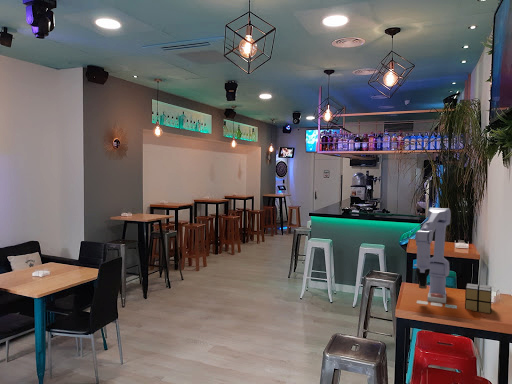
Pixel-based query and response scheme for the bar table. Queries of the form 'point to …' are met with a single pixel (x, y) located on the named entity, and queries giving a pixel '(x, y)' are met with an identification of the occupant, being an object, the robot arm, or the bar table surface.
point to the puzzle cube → (478, 298)
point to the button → (437, 295)
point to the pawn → (423, 286)
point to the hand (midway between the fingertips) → (422, 285)
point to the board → (437, 304)
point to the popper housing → (436, 298)
